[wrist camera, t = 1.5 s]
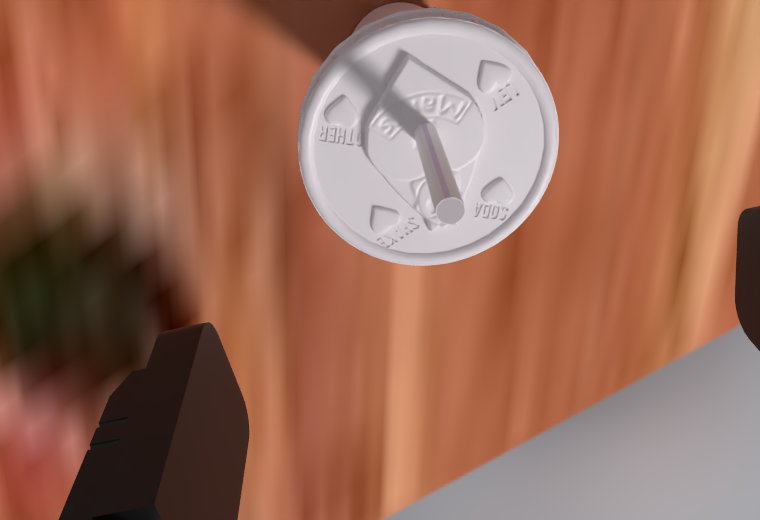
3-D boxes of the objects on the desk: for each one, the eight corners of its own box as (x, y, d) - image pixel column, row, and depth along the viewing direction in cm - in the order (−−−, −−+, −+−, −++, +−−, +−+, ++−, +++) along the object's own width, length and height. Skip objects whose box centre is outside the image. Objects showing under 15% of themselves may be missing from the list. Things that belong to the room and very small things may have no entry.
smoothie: (472, -62, 24) (614, 22, 12) (500, 119, 27) (636, 336, 15) (286, -14, 24) (235, 117, 12) (335, 159, 27) (334, 402, 15)
